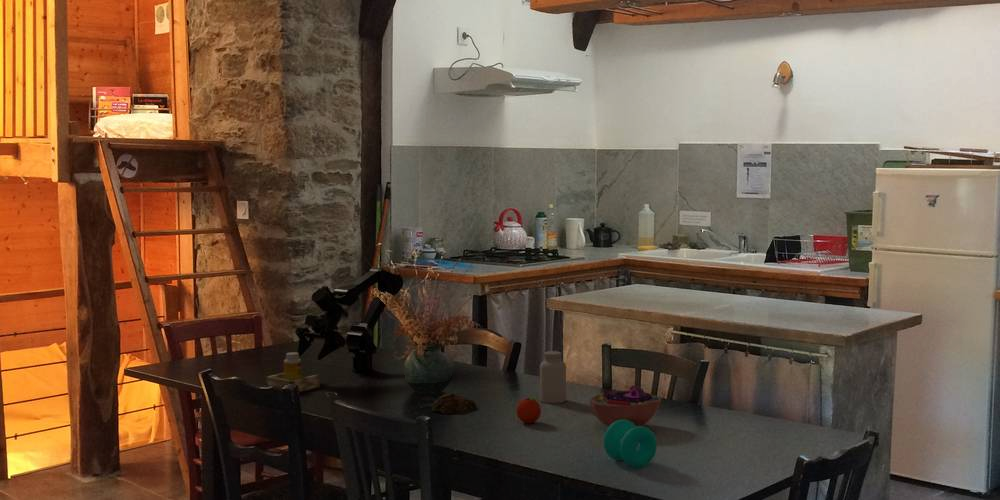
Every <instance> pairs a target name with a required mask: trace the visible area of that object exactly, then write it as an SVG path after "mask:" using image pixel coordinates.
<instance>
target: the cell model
mask: <svg viewBox="0 0 1000 500" xmlns="http://www.w3.org/2000/svg"><path fill="white" fill-rule="evenodd" d="M589 400H590V401H589V403H590V404H589V405H590V410H591V412H592V414H593V415H594V417H595V418H596V419H597V420H599V422H600V423H601V424H603V425H605V426H606V427H609V426H610V425H611V424H612V423H614V422H615V421H618V420H628V421H630V422H632V423H633V424H634V425H635V426H644V425H646V424H647V423H649V422H650V420H652V419H653V417H654V416H655V415H656V413H657V411H658V409H659V407H660V404H661V401H662V397H660V396H658V395H654V394H651V393H649V392H645V391H644V389H643V388H641V387H640V386H638V385H631V386H630V388H629V390H613V391H612V390H611V391H609V390H607V391H606V390H603V392H601V393H599V394H596V395H595V396H592V397H590V398H589Z"/></svg>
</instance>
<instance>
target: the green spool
mask: <svg viewBox="0 0 1000 500" xmlns="http://www.w3.org/2000/svg"><path fill="white" fill-rule="evenodd" d="M657 446H658V442H657V438H656V435H655V434H654V432H653V431H652V430H651V429H650V428H648V427H646V426H644V425H643V426H635V425H634V424H633V423H632V422H630V421H628V420H618V421H615V422H614V423H612V424H611V425H610V426H607V429H606V430H605V432H604V436H603V447H604V451H605V453H606V454H607V455H608V456H609V457H610V458H611V459H613V460H615V461H623V462H624V463H625V464H626V465H628V466H629V467H631V468H634V469H635V468H636V469H638V468H643V467H645V466H647V465H648V464H649V463H651V461H652V460H653V458H654V457H655V455H656V452H657V448H658V447H657Z"/></svg>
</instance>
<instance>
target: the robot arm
mask: <svg viewBox="0 0 1000 500" xmlns="http://www.w3.org/2000/svg"><path fill="white" fill-rule="evenodd" d="M375 284H377V285H376V287H377V291H378V290H379V291H381V292H384V291H387V292H388V293H390V294H392V295H393V297H394V296H396V295H397V294H398V293H400V291H401V289H402V288H403V286H404V279H403V277H402V275H401V274H398V273H393V272H390V271H387V270H385V269H383V268H378V267H372V268H370V269H369V271H368V272H366V273H365V274H363V275H362V276H360V277H359V278H358V279H356V280H354V281H353V282H352V283H350V284H347V285H342V286H340V287H337V288H335V289H334V290H333V291H331V290H330V287H328V286H327V285H323V286H321V288H319V289H317V290H315V291H314V292H313V293H312V295H311V300H312V302H313V303H314V304H315V305H316V306H317V308H318V309H319V310H320V311H321V312H324V314H320V315H311V314H306V316H305V320H304V325H307V326H310V328H308V327H304V326H299V327H297V328H296V329H295V331H294V333H295V335H296V337H297V338H298V348H297V353H299V358H300V357H301V356H302V355H304V353H305V352H306V351H307V350H308V349H309V348H310V347H311V346H312V343H313V342H314V340H322V341H324V344H323V346H322V347H321V349H320V351H319V353H318V356H317V360H318V361H320V360H322V359H324V358H325V357H327V356H328V355H330V354H331V353H334V352H335V351H337V350H339V349H341V348H342V349H343V348H344V347H345V345H346V347H347V350H348V353H351V354H352V356H351V357H350V370H352V371H353V372H355V373H362V372H363V373H364V372H374V371H375V368H373V355H374V354H376V353H377V345H375V343H374V342H373V338H374V335H373V333H374V332H373V330H374V329H375V326H376V325H377V323H378V320H379V319H380V318H381V315H382V314H383V312H384V310H385V308H386V307H387V305H385V304H384V303H383V302H382V301H381V300H380V299H379V298H378V297H376V295H375V296H374V298H373V299H372V301H371V303H370V305H369V307H368V309H367V311H366V312H365V314H364V316H363V318H362V320H361V321H360V323H359V324H357V325H355V324H352V325H351V326H350V329H349V331H348V332H347V333H346V337H344V336H343V335H342V334H341V332H339V331H338V330H339V326H338V325H339V323H340V322H341V320H342V318H343V317H344V318H348V317H349V313H348V308H344V307H343V306H345V307H352V306H353V305H354V304H355V303H356V302H357V301H358V300H359V298H360V296H361V294H363V293H364V292H366V291H367V290H368V289H369V288H371V287H373V286H374V285H375ZM311 330H312V331H313V332H312V331H311Z"/></svg>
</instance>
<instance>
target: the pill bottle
mask: <svg viewBox="0 0 1000 500" xmlns="http://www.w3.org/2000/svg"><path fill="white" fill-rule="evenodd" d="M543 359H544V360H543V361H541V363H540V364H539V400H540V402H541V403H543V404H544V403H545V404H550V405H551V404H554V405H555V404H562V403H565V402H566V400H567V365H566V363H565V362H564V361H563V360H562V352H561V351H557V350H556V351H555V350H550V351H545V352H543Z"/></svg>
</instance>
